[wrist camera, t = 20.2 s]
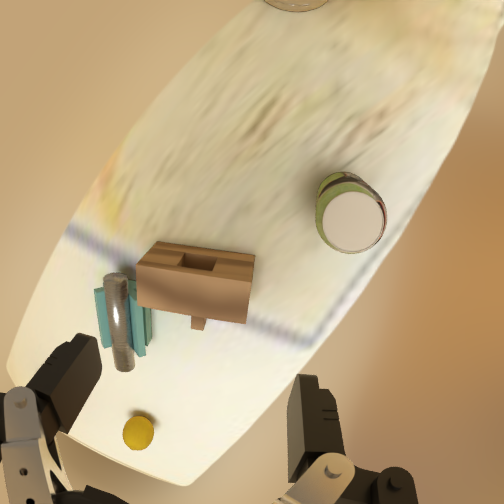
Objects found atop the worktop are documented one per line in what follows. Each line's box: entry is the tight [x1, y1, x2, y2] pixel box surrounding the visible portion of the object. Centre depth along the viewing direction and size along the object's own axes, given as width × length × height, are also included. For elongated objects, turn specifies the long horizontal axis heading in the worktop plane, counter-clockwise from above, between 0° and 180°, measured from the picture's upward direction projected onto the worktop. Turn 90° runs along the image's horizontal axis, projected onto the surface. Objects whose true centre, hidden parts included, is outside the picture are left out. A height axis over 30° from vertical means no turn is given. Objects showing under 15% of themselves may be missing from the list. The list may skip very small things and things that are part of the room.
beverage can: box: [316, 172, 387, 254], centre depth 29 cm, size 6×7×12 cm
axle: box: [103, 273, 135, 372], centre depth 38 cm, size 14×3×3 cm, turn 173°
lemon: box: [123, 416, 154, 450], centre depth 47 cm, size 6×6×8 cm
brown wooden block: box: [136, 241, 255, 331], centre depth 36 cm, size 10×12×7 cm
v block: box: [94, 280, 152, 357], centre depth 39 cm, size 9×7×5 cm
